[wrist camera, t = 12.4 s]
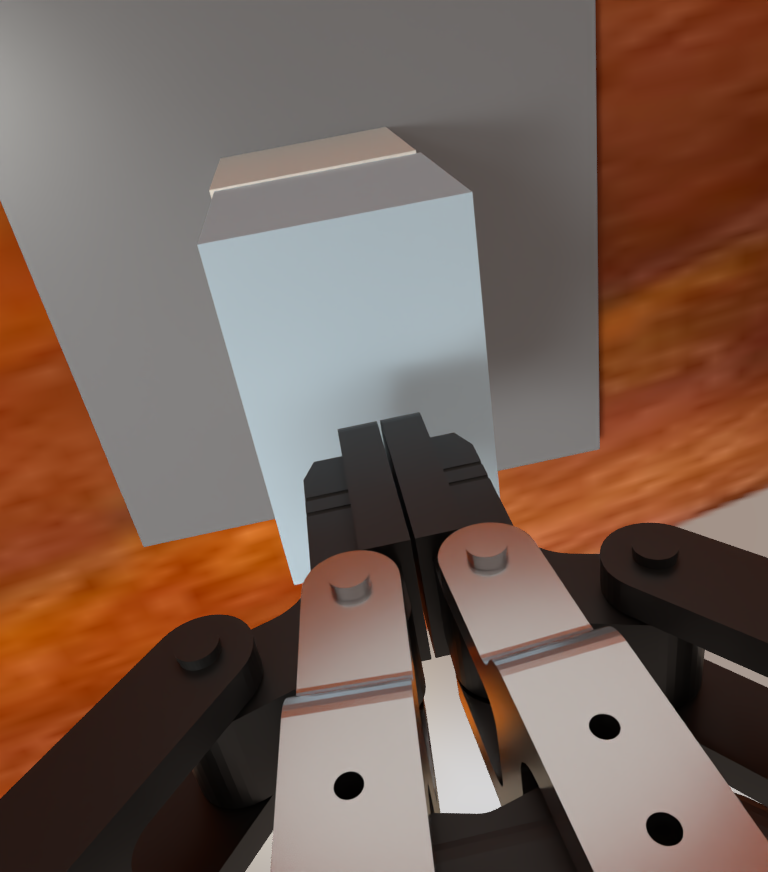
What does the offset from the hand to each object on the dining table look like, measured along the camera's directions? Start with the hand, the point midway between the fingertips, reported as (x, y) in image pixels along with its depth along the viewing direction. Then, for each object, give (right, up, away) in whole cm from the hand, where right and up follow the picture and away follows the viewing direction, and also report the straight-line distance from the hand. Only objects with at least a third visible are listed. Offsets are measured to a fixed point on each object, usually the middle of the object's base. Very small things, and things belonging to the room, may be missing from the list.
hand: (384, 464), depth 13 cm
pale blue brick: (-1, +3, +6) cm, 7 cm away
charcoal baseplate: (-2, +6, +11) cm, 13 cm away
